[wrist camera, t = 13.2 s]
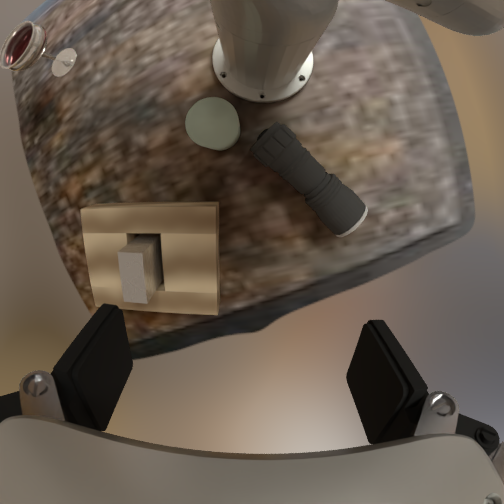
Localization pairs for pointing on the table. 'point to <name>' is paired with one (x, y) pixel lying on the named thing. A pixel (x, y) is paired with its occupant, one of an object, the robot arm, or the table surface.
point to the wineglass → (33, 50)
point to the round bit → (213, 123)
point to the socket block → (173, 253)
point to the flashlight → (310, 179)
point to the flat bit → (141, 267)
